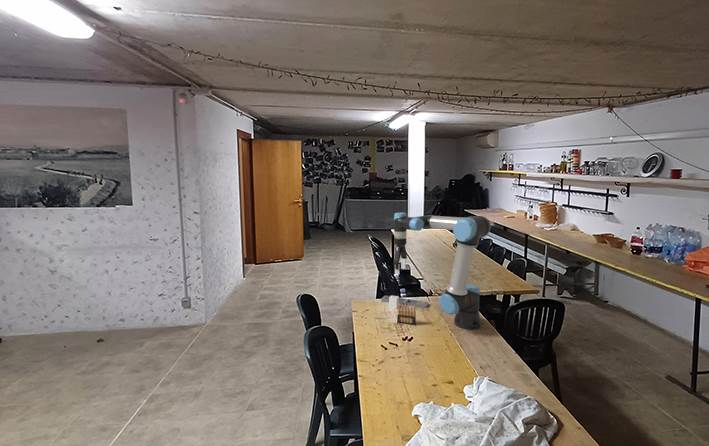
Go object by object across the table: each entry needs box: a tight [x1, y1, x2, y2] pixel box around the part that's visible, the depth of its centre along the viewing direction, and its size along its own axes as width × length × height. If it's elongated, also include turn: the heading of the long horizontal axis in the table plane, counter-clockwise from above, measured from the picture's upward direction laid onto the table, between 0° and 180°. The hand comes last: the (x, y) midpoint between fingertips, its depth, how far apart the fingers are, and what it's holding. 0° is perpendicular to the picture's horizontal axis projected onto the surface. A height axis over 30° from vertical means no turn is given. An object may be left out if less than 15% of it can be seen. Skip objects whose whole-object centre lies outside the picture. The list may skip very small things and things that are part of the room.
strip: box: [380, 295, 430, 309], centre depth 254 cm, size 42×7×4 cm, turn 66°
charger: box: [388, 295, 400, 310], centre depth 248 cm, size 5×4×8 cm
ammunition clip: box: [396, 303, 417, 326], centre depth 226 cm, size 11×2×12 cm, turn 71°
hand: (400, 271), depth 244 cm, fingers open, 13 cm apart
